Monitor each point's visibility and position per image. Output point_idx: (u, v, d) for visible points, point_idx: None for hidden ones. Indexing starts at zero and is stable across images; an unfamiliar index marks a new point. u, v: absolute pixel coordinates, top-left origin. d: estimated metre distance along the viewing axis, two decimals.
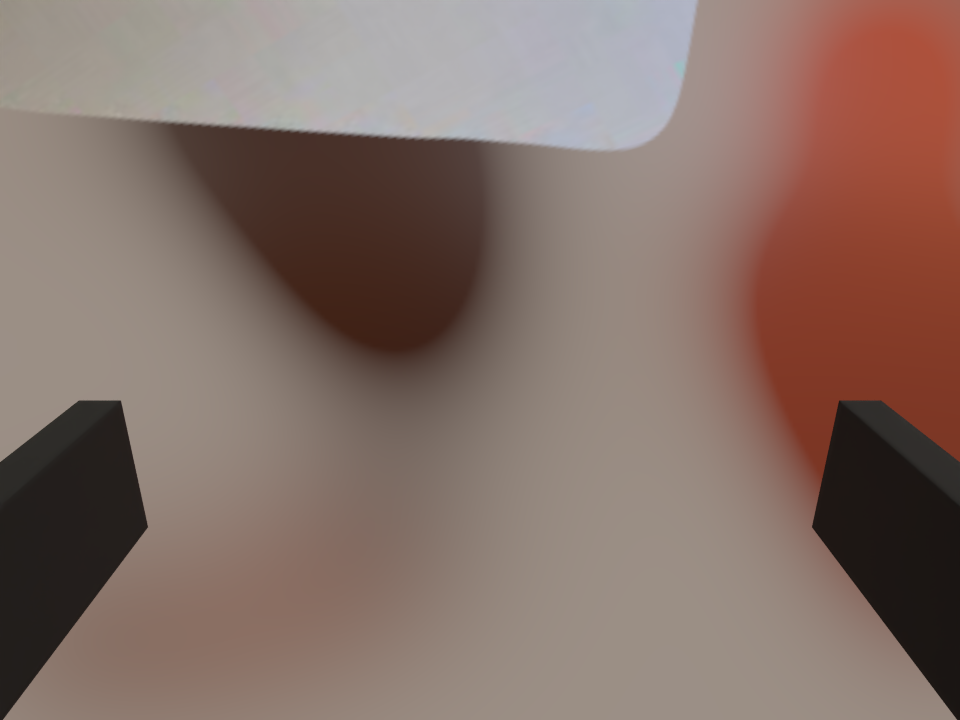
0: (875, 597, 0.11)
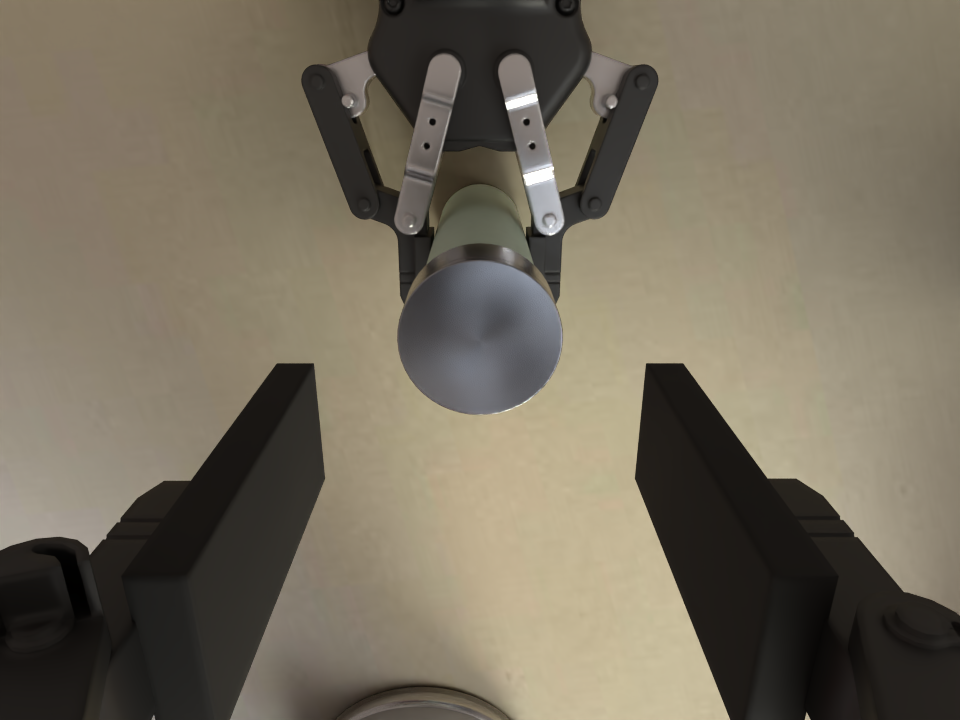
0: (660, 531, 0.13)
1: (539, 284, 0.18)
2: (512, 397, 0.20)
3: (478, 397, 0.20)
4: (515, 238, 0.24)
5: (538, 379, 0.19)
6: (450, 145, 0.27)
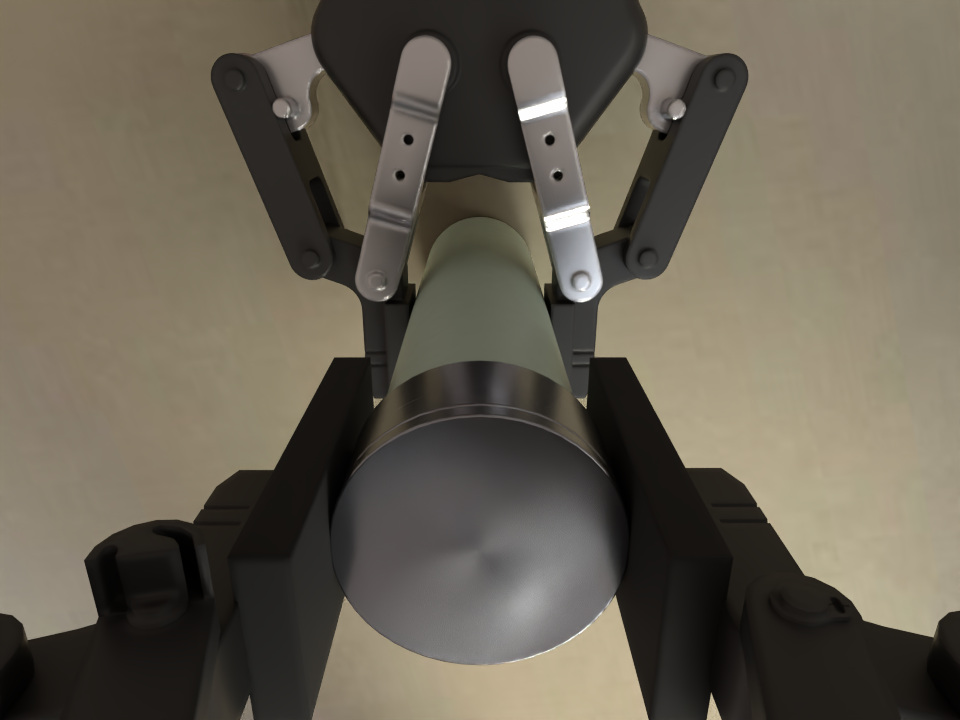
0: None
1: (591, 457, 0.10)
2: (537, 639, 0.11)
3: (477, 639, 0.11)
4: (534, 322, 0.15)
5: (584, 611, 0.11)
6: (436, 174, 0.18)
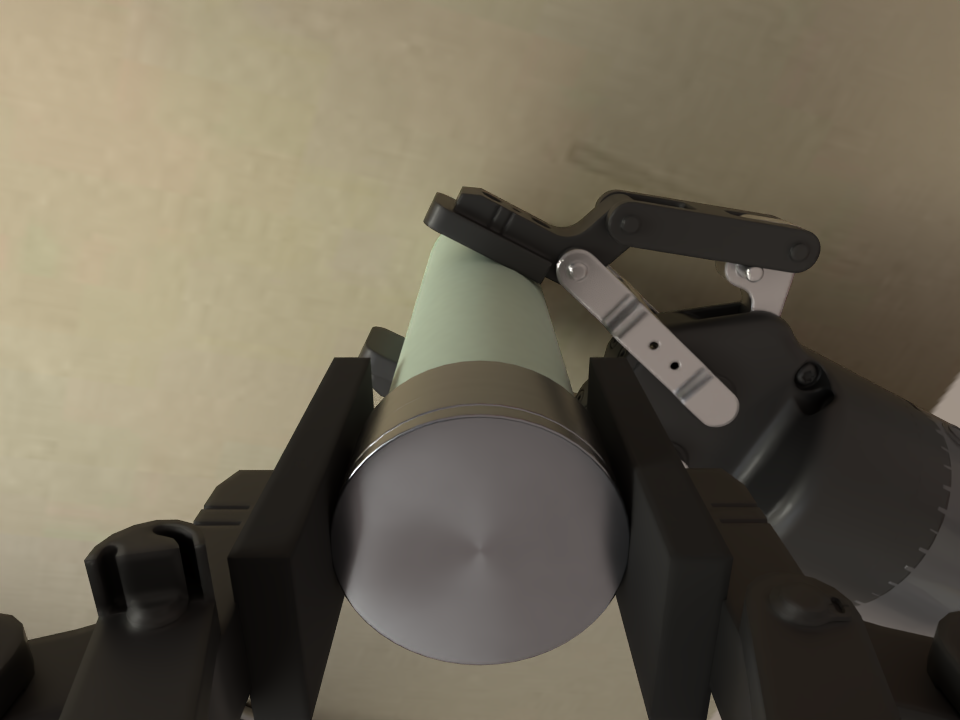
0: None
1: (591, 457, 0.10)
2: (537, 639, 0.11)
3: (476, 639, 0.11)
4: None
5: (584, 611, 0.11)
6: (630, 360, 0.20)
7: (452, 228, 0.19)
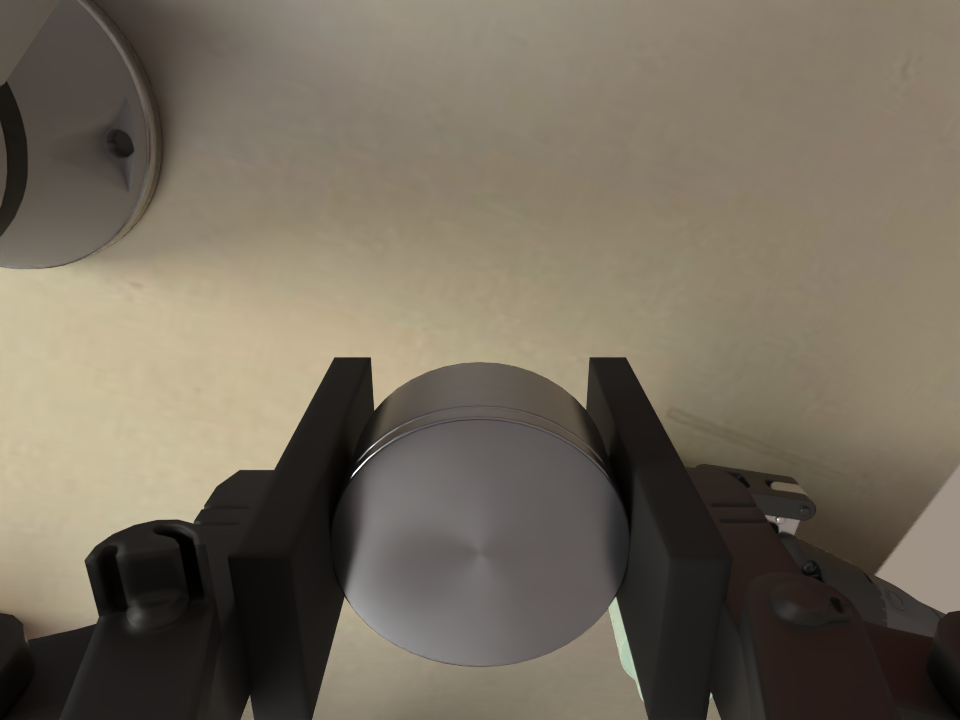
0: None
1: (590, 459, 0.10)
2: (538, 641, 0.11)
3: (477, 641, 0.11)
4: None
5: (585, 613, 0.11)
6: None
7: None
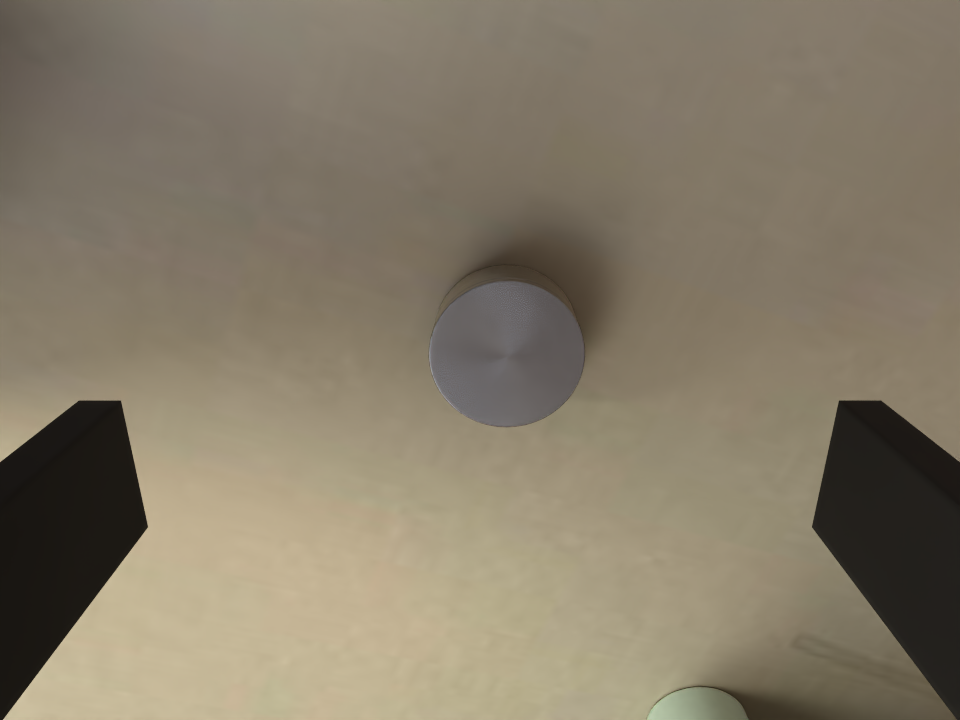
0: (875, 597, 0.11)
1: (562, 303, 0.20)
2: (537, 410, 0.21)
3: (504, 410, 0.21)
4: None
5: (561, 393, 0.21)
6: None
7: None
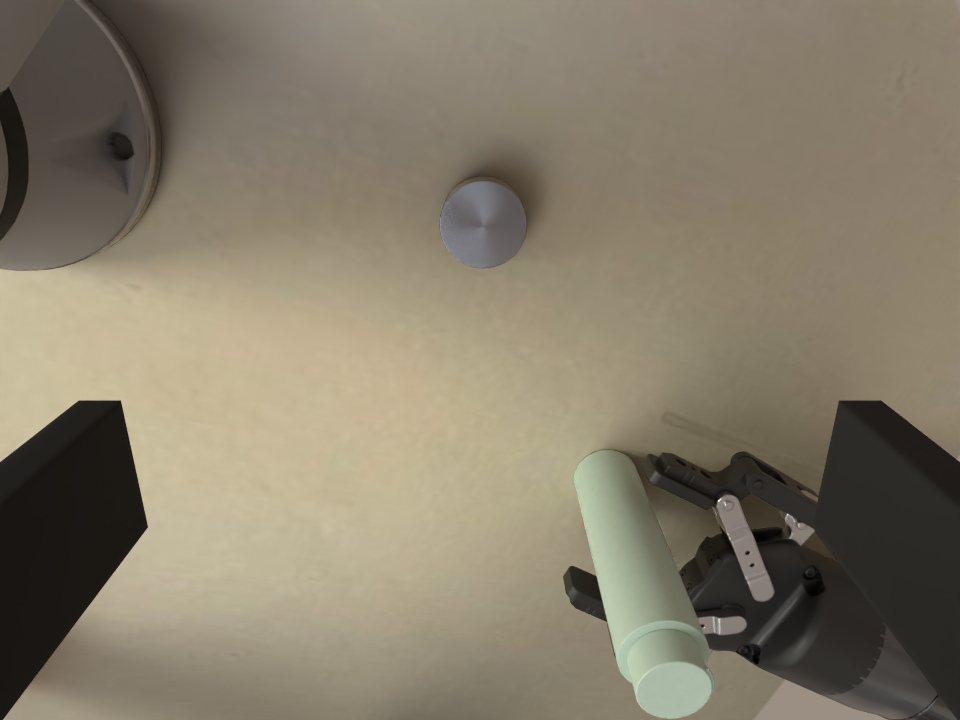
0: (874, 597, 0.11)
1: (513, 194, 0.35)
2: (500, 257, 0.37)
3: (482, 257, 0.37)
4: None
5: (514, 247, 0.37)
6: (716, 564, 0.38)
7: (664, 484, 0.36)
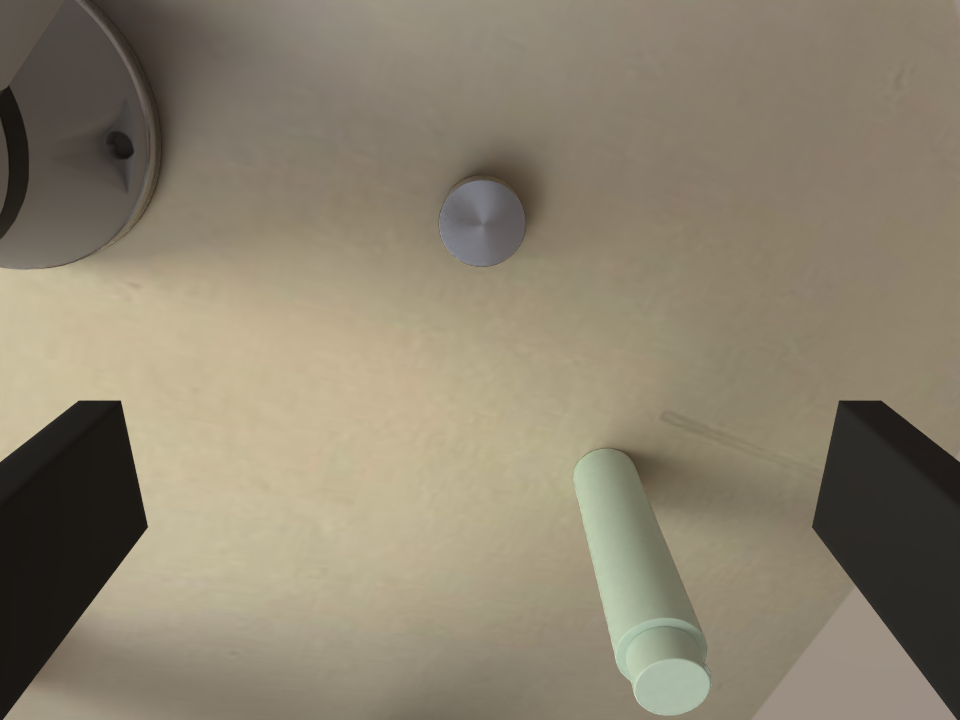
0: (874, 597, 0.11)
1: (512, 192, 0.36)
2: (499, 256, 0.37)
3: (481, 256, 0.37)
4: None
5: (513, 246, 0.37)
6: None
7: None
